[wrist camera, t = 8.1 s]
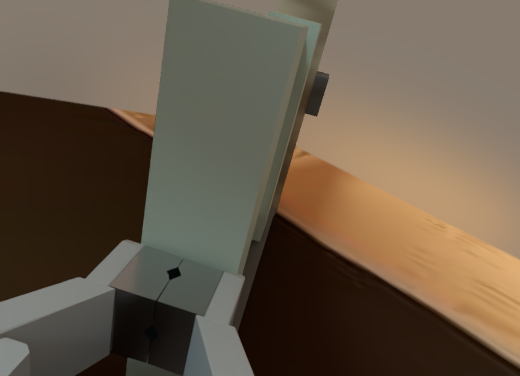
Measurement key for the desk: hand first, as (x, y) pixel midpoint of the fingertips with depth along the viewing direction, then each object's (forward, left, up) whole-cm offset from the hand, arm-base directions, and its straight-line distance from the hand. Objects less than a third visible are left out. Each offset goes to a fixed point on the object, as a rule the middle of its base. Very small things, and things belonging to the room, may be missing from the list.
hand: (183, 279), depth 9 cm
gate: (0, +7, -6) cm, 9 cm away
